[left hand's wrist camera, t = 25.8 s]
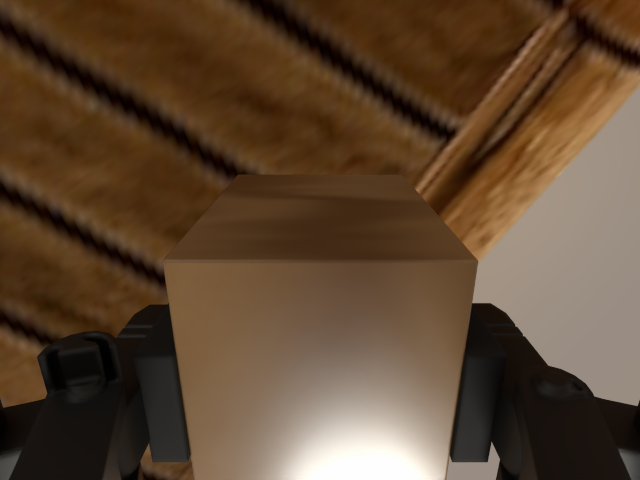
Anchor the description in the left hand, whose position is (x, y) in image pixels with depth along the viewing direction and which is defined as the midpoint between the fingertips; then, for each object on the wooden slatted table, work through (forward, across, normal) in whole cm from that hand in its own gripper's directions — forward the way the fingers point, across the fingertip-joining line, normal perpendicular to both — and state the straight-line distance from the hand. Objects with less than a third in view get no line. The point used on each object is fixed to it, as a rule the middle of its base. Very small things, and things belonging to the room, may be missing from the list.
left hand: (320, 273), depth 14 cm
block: (+1, 0, 0) cm, 1 cm away
